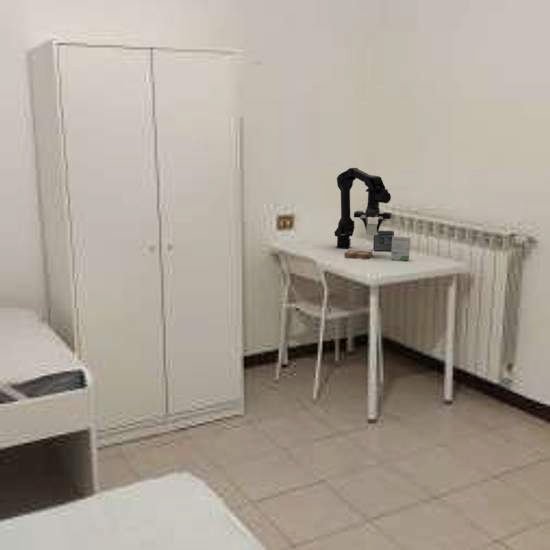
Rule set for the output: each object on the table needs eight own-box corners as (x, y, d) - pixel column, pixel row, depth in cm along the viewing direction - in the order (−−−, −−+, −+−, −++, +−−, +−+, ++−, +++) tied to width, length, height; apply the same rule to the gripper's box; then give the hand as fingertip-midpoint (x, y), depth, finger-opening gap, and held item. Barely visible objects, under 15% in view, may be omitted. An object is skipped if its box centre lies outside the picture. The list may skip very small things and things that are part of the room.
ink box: (390, 259, 352) (391, 236, 350) (392, 258, 357) (393, 235, 355) (407, 261, 350) (409, 237, 347) (409, 259, 354) (410, 236, 352)
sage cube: (366, 234, 361) (366, 224, 360) (368, 233, 366) (368, 223, 365) (376, 235, 360) (376, 225, 359) (377, 233, 364) (378, 224, 363)
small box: (392, 249, 381) (393, 230, 379) (393, 251, 375) (394, 232, 373) (373, 249, 382) (373, 229, 380) (373, 251, 376) (374, 231, 374)
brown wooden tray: (344, 257, 357) (344, 252, 356) (349, 254, 366) (349, 249, 365) (367, 259, 353) (368, 254, 352) (372, 256, 362) (372, 251, 361)
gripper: (351, 202, 355) (350, 232, 358) (389, 203, 349) (387, 235, 352) (356, 199, 365) (355, 229, 368) (392, 201, 359) (391, 232, 362)
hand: (372, 231), depth 362 cm, fingers closed on sage cube, 5 cm apart
